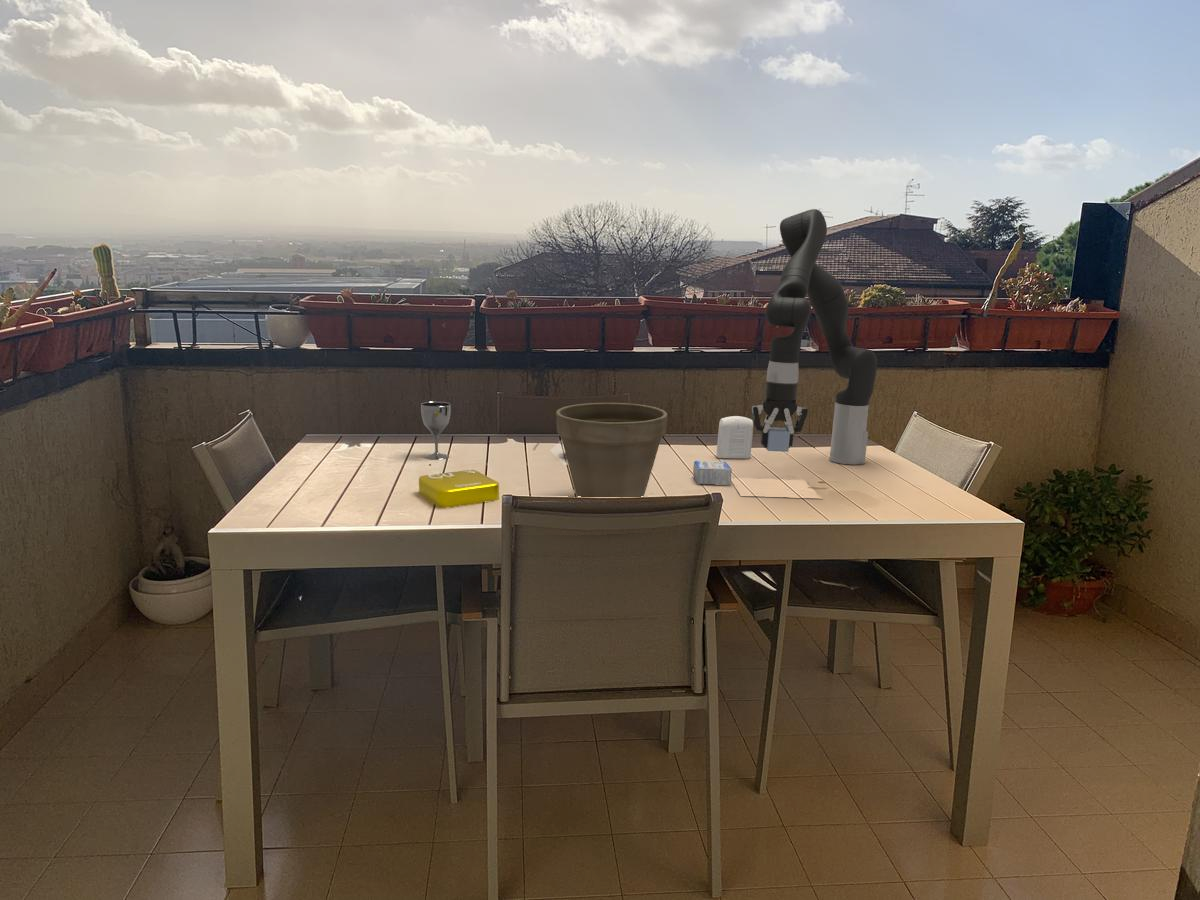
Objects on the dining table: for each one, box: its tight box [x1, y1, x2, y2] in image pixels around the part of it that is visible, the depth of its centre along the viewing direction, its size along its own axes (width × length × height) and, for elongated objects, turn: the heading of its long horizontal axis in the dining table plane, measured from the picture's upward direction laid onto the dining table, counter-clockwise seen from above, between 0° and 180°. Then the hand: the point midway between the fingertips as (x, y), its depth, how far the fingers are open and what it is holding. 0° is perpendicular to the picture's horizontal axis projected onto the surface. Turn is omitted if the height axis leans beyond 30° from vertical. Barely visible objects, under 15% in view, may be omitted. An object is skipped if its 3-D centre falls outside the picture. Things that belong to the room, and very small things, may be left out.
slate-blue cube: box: [765, 426, 790, 453], centre depth 193 cm, size 5×5×5 cm
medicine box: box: [692, 460, 733, 486], centre depth 200 cm, size 8×4×9 cm
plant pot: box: [555, 402, 668, 497], centre depth 176 cm, size 25×25×22 cm
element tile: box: [418, 469, 500, 509], centre depth 180 cm, size 15×15×5 cm
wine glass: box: [420, 401, 452, 461], centre depth 215 cm, size 8×8×15 cm
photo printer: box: [716, 415, 754, 460], centre depth 226 cm, size 10×4×12 cm, turn 98°
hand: (776, 447), depth 194 cm, fingers closed on slate-blue cube, 5 cm apart
